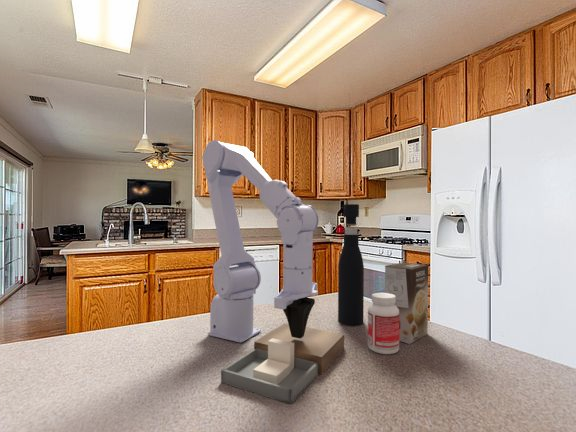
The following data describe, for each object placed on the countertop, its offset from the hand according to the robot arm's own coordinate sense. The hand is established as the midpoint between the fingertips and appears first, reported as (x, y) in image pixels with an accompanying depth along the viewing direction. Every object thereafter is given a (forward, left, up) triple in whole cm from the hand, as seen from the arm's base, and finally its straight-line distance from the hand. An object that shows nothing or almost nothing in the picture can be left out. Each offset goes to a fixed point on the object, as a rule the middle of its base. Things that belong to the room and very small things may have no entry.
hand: (297, 336), depth 64 cm
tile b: (0, -10, -2) cm, 10 cm away
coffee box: (+17, +21, -4) cm, 28 cm away
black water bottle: (+3, +24, -4) cm, 25 cm away
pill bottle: (+14, +11, -4) cm, 18 cm away
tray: (0, -10, -4) cm, 11 cm away
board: (0, +1, -4) cm, 4 cm away
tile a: (0, -6, -1) cm, 6 cm away
